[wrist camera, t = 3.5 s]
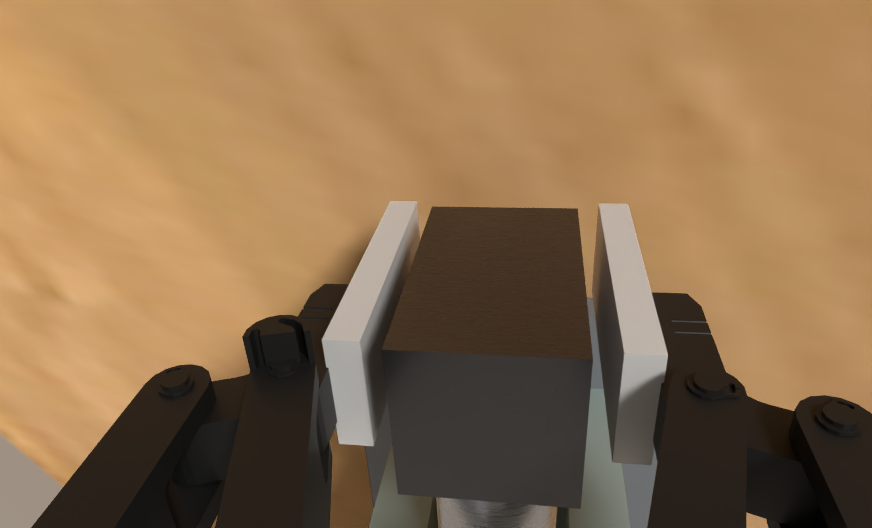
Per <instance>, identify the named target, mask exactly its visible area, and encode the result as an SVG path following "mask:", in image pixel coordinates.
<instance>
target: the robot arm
mask: <svg viewBox="0 0 872 528" xmlns="http://www.w3.org/2000/svg"><path fill="white" fill-rule="evenodd" d="M419 243H420V236H419V222H418V207H417V201H390V203H389V205H388V207H387V209H386V211H385V213H384V215H383V217H382V219H381V221H380V223H379V225H378V227H377V229H376V231H375V233H374V235H373V237H372V239H371V241H370V243H369V245H368V247H367V249H366V251H365V253H364V255H363V257H362V259H361V261H360V263H359V265H358V267H357V269H356V271H355V274H354V276H353V278H352V280H351V282H350V284H349V285H347V284H324V285H323V286H322V287H320V288H319V289H318V290H316V291H315V292H314V293H312V294H311V295H310V297H309V298H308V300H307V302H306V304H305V305H304V309H303V310H302V311H301V312H300V314H299V316H298V317H296V316H293V315H278V316H273V317H268V318H265V319H263V320H261V321H258V322H256V323H254V324H253V325H252V326H251V327H249V328H248V329H247V330H246V332H245V333H244V335H243V342H244V346H245V350H246V354H247V358H248V363H249V367H250V374H248V375H245V376H241V377H237V378H231V379H225V380H219V381H213V382H212V381H211V378H210V374H209V371H207V370H206V369H205V368H203V367H202V366H197V365H192V364H191V365H179V366H175V367H171V368H169V369H166V370H164V371H162V372H160V373H158V374H156V375H154V376H153V377H152V378H151V379H150V380H149V381H148V382H147V383H146V384H145V385H144V386H143V387H142V389H141V390H140V391H139V392H138V394H137V395H136V396H135V397H134V399H133V400H132V401H131V403H130V404H129V405H128V406H127V408H126V409H125V410H124V411H123V413H122V414H121V415H120V416H119V418H118V419H117V420H116V421H115V423H114V424H113V425H112V426H111V428H110V429H109V430H108V432H107V433H106V434H105V435H104V437H103V438H102V439H101V440H100V442H99V443H98V444H97V445H96V447H95V448H94V449H93V450H92V452H91V453H90V454H89V455H88V457H87V458H86V459H85V461H84V462H83V463H82V464H81V466H80V467H79V468H78V469H77V471H76V472H75V473H74V474H73V476H72V477H71V478H70V479H69V481H68V482H67V483H66V484H65V486H64V487H63V488H62V489H61V491H60V492H59V493H58V495H57V496H56V497H55V498H54V500H53V501H52V502H51V504H50V505H49V506H48V507H47V508H46V510H45V511H44V512H43V514H42V515H41V516H40V517H39V518H38V520H37V521H36V522H35V524H34V525H33V526H32V527H31V528H211V527H212V525H213V523H214V521H215V519H216V517H217V515H218V517H217V521H216V526H215V528H329V526H330V502H331V479H332V452H331V447H330V439H331V436H332V434H333V431H334V429H335V426H336V429H337V435H338V441H339V444H348V445H363V446H374V443H375V440H376V437H377V434H378V430H379V427H380V424H381V421H382V417H383V414H384V411H385V408H386V404H387V393H386V384H385V375H384V366H383V358H382V347H383V344H384V342H385V339H386V336H387V333H388V330H389V327H390V325H391V322H392V319H393V316H394V313H395V310H396V308H397V305H398V302H399V299H400V296H401V294H402V291H403V288H404V285H405V282H406V279H407V277H408V274H409V271H410V268H411V265H412V262H413V260H414V257H415V254H416V251H417V248H418V246H419ZM592 295H593V303H594V312H595V320H596V329H597V337H598V346H599V354H600V363H601V371H602V380H603V388H604V397H605V405H606V414H607V422H608V431H609V439H610V448H611V456H612V463H624V464H639V465H652V458H653V452H654V448H655V453H656V458H657V469H656V475H655V481H654V488H653V494H652V500H651V506H650V513H649V519H648V525H647V528H746V512H747V513H750V514H753V515H756V516H760V517H763V518H766V519H767V524H768V527H769V528H872V414H871V413H870V412H868V411H867V410H865V409H864V408H862V407H861V406H859V405H857V404H855V403H852V402H850V401H847V400H844V399H842V398H837V397H831V396H825V395H824V396H810V397H808V398H806V399H804V400H801V401H800V402H799V404H798V405H797V407H796V409H795V411H791V410H787V409H783V408H779V407H776V406H772V405H768V404H765V403H762V402H759V401H757V400H755V399H753V398H751V397H749V396H747V394H746V391H745V388H744V386H743V385H742V384H741V383H740V382H739V381H738V380H737V379H736V378H735V377H733V376H732V375H730V374H728V373H726V371H725V369H724V366H723V363H722V361H721V358H720V355H719V353H718V350H717V347H716V345H715V342H714V339H713V337H712V335H711V331H710V329H709V326H708V323H706V318H705V315H704V313H703V310H702V307H701V306H700V305H699V304H698V303H697V302H696V301H695V300H693V299H692V298H691V297H690V296H689V295H688V294H682V293H652V292H651V289H650V285H649V281H648V277H647V273H646V270H645V266H644V262H643V258H642V255H641V251H640V247H639V243H638V240H637V236H636V232H635V228H634V224H633V221H632V217H631V213H630V209H629V206H628V204H599V206H598V219H597V232H596V245H595V258H594V271H593V284H592Z"/></svg>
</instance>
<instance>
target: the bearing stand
mask: <svg viewBox="0 0 872 528" xmlns="http://www.w3.org/2000/svg"><path fill="white" fill-rule="evenodd" d="M587 306H588V315H589V325H590V335H591V345H592V354H593V366H592V378H591V390H590V402H589V415H588V427H587V439H586V451H585V463H584V475H583V487H582V499H581V509H577V508H565V507H557V515H556V528H647V525H648V519H649V513H650V506H651V500H652V494H653V488H654V481H655V475H656V469H657V458H656V453H655V448H654V452H653V458H652V465H639V464H624V463H612V456H611V448H610V439H609V431H608V422H607V414H606V405H605V397H604V388H603V380H602V371H601V363H600V354H599V346H598V337H597V329H596V320H595V312H594V303H593V299H590V298H587ZM365 450H366V457H367V464H368V471H369V478H370V485H371V492H372V500H373V507H374V510H373V514H372V517H371V521H370V525H369V528H438V515H437V501H436V497H426V496H414V495H401V494H398V490H397V482H396V473H395V464H394V455H393V446H392V437H391V428H390V420H389V411H388V402H387V404H386V408H385V411H384V414H383V417H382V421H381V424H380V427H379V430H378V434H377V437H376V440H375V443H374V446H365Z"/></svg>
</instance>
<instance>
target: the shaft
mask: <svg viewBox="0 0 872 528" xmlns="http://www.w3.org/2000/svg"><path fill="white" fill-rule="evenodd" d="M382 358H383V366H384V375H385V384H386V393H387V402H388V411H389V420H390V428H391V437H392V446H393V455H394V464H395V473H396V482H397V490H398V494H401V495H414V496H426V497H436V501H437V515H438V528H556V515H557V507H565V508H577V509H581V499H582V487H583V475H584V463H585V451H586V439H587V427H588V415H589V402H590V390H591V378H592V366H593V354H592V345H591V335H590V325H589V315H588V306H587V296H586V286H585V276H584V267H583V257H582V247H581V238H580V228H579V218H578V209H567V208H490V207H432V209H431V212H430V214H429V217H428V220H427V223H426V226H425V229H424V231H423V234H422V237H421V240H420V243H419V246H418V248H417V251H416V254H415V257H414V260H413V262H412V265H411V268H410V271H409V274H408V277H407V279H406V282H405V285H404V288H403V291H402V294H401V296H400V299H399V302H398V305H397V308H396V310H395V313H394V316H393V319H392V322H391V325H390V327H389V330H388V333H387V336H386V339H385V342H384V344H383V347H382Z"/></svg>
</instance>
